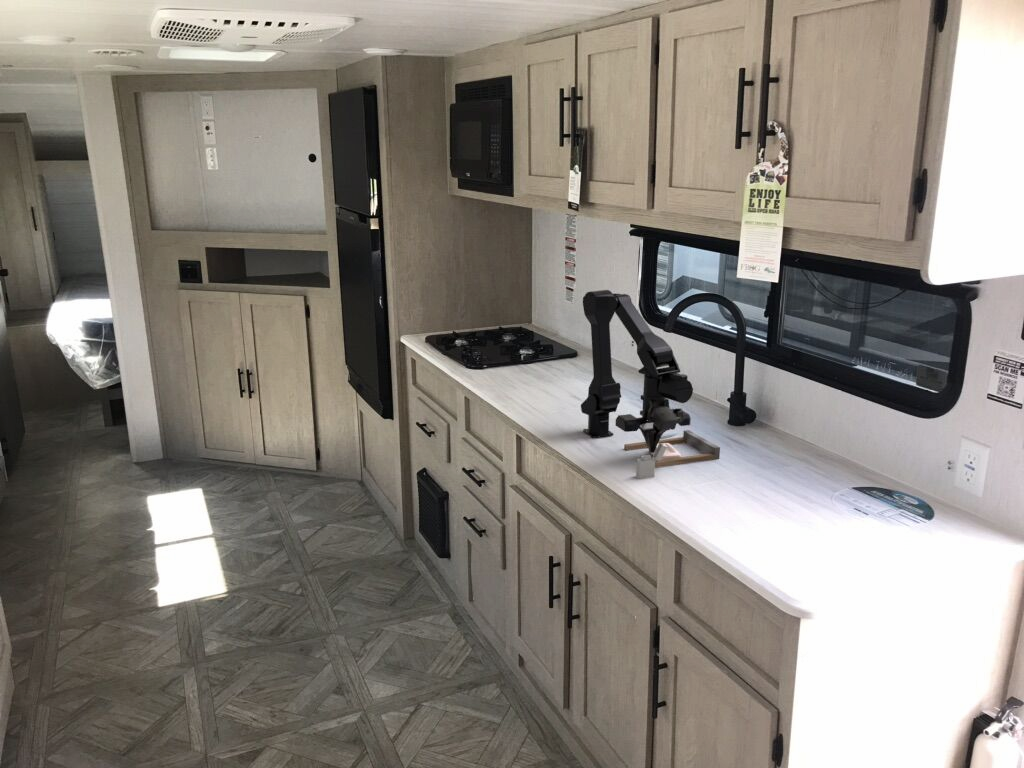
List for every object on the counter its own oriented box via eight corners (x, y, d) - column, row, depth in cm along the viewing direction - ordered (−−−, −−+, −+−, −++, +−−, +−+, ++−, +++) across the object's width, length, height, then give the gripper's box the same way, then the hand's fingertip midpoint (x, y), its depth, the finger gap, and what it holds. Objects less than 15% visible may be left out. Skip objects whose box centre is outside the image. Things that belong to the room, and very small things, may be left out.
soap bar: (668, 450, 226) (669, 442, 225) (681, 462, 217) (681, 453, 216) (649, 451, 225) (649, 443, 224) (660, 464, 216) (661, 455, 216)
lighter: (638, 478, 205) (640, 446, 203) (635, 476, 207) (637, 444, 205) (665, 475, 208) (667, 444, 205) (662, 473, 209) (664, 441, 207)
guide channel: (624, 448, 226) (624, 437, 225) (687, 440, 232) (688, 430, 232) (652, 467, 212) (653, 456, 212) (719, 458, 219) (720, 447, 218)
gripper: (636, 405, 206) (633, 466, 210) (704, 398, 212) (700, 458, 216) (615, 393, 216) (613, 452, 220) (681, 387, 222) (677, 444, 226)
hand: (651, 452), depth 220 cm, fingers closed
